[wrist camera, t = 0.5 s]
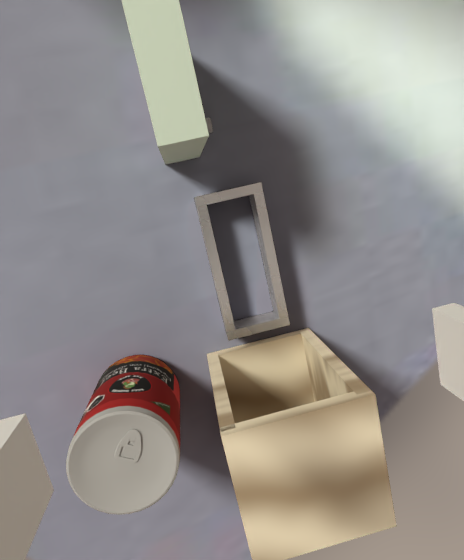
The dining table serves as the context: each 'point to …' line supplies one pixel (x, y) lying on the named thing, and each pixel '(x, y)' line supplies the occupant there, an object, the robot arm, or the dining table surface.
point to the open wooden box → (300, 445)
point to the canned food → (127, 438)
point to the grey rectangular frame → (267, 249)
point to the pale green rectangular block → (168, 78)
